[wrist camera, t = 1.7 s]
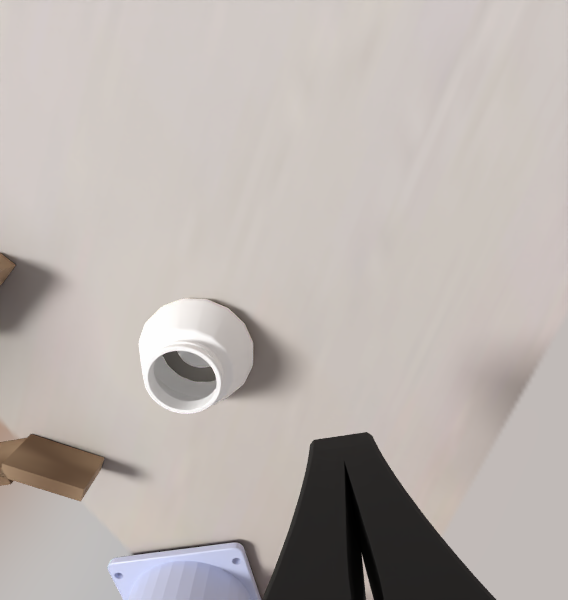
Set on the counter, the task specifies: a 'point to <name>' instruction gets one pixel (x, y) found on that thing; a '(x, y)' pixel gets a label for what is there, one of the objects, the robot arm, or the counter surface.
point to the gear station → (46, 455)
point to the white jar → (194, 353)
